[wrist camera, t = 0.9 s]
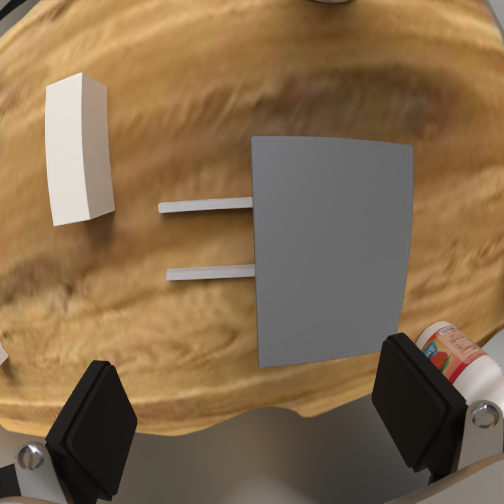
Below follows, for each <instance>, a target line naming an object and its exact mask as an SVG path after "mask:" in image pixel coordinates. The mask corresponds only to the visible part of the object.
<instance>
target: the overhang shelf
mask: <svg viewBox="0 0 504 504" xmlns="http://www.w3.org/2000/svg"><path fill="white" fill-rule="evenodd" d="M250 150H251V176H252V197H243V198H223V199H206V200H191V201H178V202H165V203H160V204H158V207H159V213H165V212H178V211H193V210H209V209H226V208H246V207H253V231H254V259H255V264H246V265H227V266H207V267H185V268H168V269H167V271H166V279H167V280H187V279H210V278H231V277H250V276H255V287H256V316H257V345H258V363H259V368H262V367H275V366H285V365H295V364H304V363H312V362H320V361H327V360H334V359H341V358H347V357H353V356H359V355H365V354H370V353H375V352H380V351H381V348H382V343H383V341H385V340H386V338H387V337H388V336H389V335H393V334H396V333H397V328H398V324H399V319H400V314H401V308H402V303H403V297H404V290H405V284H406V277H407V269H408V261H409V252H410V242H411V230H412V214H413V183H414V169H413V145H406V144H398V143H390V142H381V141H371V140H361V139H348V138H332V137H309V136H251V138H250Z"/></svg>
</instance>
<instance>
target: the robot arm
mask: <svg viewBox="0 0 504 504" xmlns="http://www.w3.org/2000/svg"><path fill="white" fill-rule="evenodd" d="M315 1H319V2H325V3H342V2H346V1H349V0H315ZM372 402H373V405H374V406H375V408H376V410H377V412H378V413H379V415H380V417H381V419H382V420H383V422H384V424H385V426H386V428H387V429H388V432H389V433H390V435H391V437H392V439H393V441H394V443H395V444H396V446H397V448H398V450H399V452H400V454H401V456H402V457H403V459H404V461H405V463H406V465H407V466H408V467H409V468H411V467H412V468H413V470H414V472H415V473H417V472H419V471H421V470H423V469H426V468H428V469H429V471H430V476H429V480H428V483H427V486H426V487H424V488H421V489H419V490H417V491H414V492H412V493H410V494H408V495H405V496H402V497H400V498H397V499H395V500H392V501H389V502H387V503H384V504H504V418H503V412H502V410H501V409H500V407H499V406H498V405H497V404H495V403H493V402H491V401H488V400H479V401H475V402H474V403H472V404H471V405H470V406H468V405H467V404H466V402H467V400H466V399H465V398H464V397H463V396H462V395H461V393H460V392H459V391H458V390H457V389H456V388H455V387H454V386H453V385H452V383H451V382H450V381H449V380H448V379H447V378H446V377H445V376H444V375H443V374H442V372H441V371H440V370H439V369H438V368H437V367H436V366H435V365H434V364H433V363H432V362H431V361H430V359H429V358H428V357H427V356H426V355H425V354H424V353H423V352H422V351H421V350H420V349H419V348H418V347H417V346H416V345H415V344H414V343H413V342H412V341H411V340H410V338H409V337H408V336H407V335H406V334H404V333H398V334H393V335H389V336H388V337H387V338H386V340H385V341H383V343H382V348H381V354H380V359H379V364H378V369H377V374H376V379H375V383H374V387H373V392H372ZM136 427H137V417H136V415H135V413H134V410H133V408H132V406H131V404H130V402H129V399H128V397H127V395H126V393H125V390H124V388H123V386H122V383H121V381H120V378H119V376H118V373H117V371H116V368H115V367H114V366H113V365H111V364H110V362H109V361H98V360H94V361H92V362H91V364H90V365H89V367H88V368H87V370H86V372H85V373H84V375H83V376H82V378H81V379H80V381H79V383H78V384H77V386H76V387H75V389H74V391H73V392H72V394H71V395H70V397H69V399H68V400H67V402H66V404H65V405H64V407H63V409H62V410H61V412H60V414H59V415H58V417H57V419H56V421H55V422H54V424H53V426H52V428H51V429H50V431H49V433H48V435H47V436H46V438H45V440H46V441H47V443H46V444H45V446H44V445H43V444H42V443H40V442H37V441H30V442H26V443H25V444H22V445H21V446H20V447H19V448H18V449H17V451H16V453H15V456H14V464H11V465H8V466H5V467H2V468H0V504H96V501H97V498H99V499H102V500H107V501H111V500H112V496H113V495H116V494H117V491H118V488H119V484H120V481H121V477H122V473H123V470H124V466H125V463H126V460H127V456H128V453H129V449H130V446H131V443H132V440H133V436H134V433H135V430H136Z"/></svg>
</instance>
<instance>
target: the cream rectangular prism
mask: <svg viewBox="0 0 504 504" xmlns="http://www.w3.org/2000/svg"><path fill="white" fill-rule="evenodd" d="M45 143H46V163H47V176H48V187H49V195H50V203H51V210H52V217H53V223H54V226H57V225H62V224H68V223H73V222H79V221H85V220H90V219H93V218H96V217H98V216H101V215H104V214H107V213H109V212H112V211H115V205H114V197H113V189H112V180H111V170H110V158H109V143H108V122H107V87H106V86H104V85H103V84H101V83H100V82H98V81H96V80H95V79H93V78H91V77H90V76H88V75H86V74H85V73H83V72H81V73H79V74H76V75H73V76H71V77H68V78H66V79H63V80H61V81H58V82H56V83H54V84H51V85H49V86H47V89H46V109H45Z"/></svg>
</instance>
